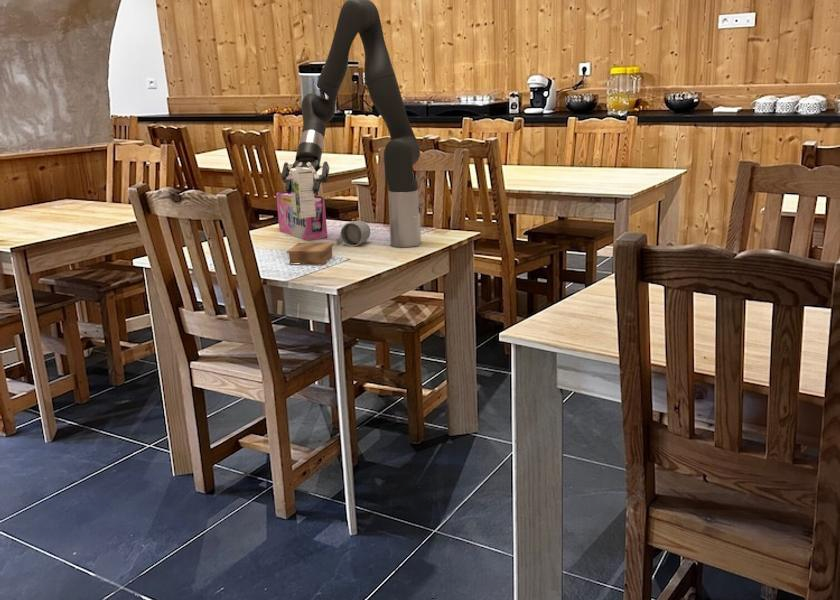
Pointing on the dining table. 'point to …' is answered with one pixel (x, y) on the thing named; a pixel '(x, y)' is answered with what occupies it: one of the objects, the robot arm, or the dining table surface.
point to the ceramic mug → (354, 233)
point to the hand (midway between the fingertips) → (301, 192)
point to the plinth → (310, 253)
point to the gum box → (304, 226)
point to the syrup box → (302, 192)
